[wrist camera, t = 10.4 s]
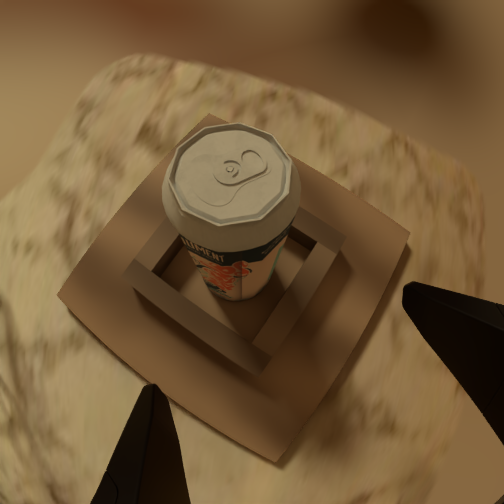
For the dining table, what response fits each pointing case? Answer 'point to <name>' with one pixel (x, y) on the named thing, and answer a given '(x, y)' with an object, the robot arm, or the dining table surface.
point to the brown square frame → (239, 307)
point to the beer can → (232, 205)
